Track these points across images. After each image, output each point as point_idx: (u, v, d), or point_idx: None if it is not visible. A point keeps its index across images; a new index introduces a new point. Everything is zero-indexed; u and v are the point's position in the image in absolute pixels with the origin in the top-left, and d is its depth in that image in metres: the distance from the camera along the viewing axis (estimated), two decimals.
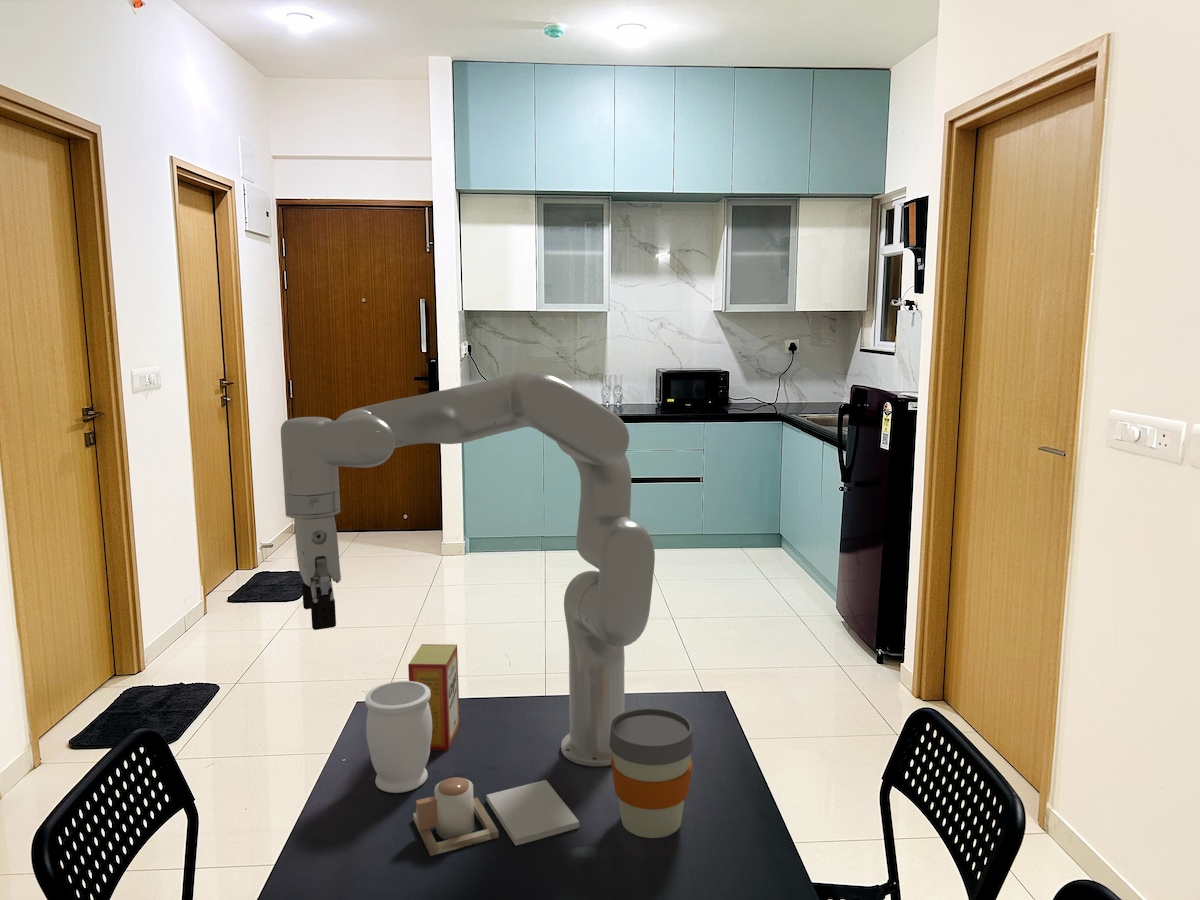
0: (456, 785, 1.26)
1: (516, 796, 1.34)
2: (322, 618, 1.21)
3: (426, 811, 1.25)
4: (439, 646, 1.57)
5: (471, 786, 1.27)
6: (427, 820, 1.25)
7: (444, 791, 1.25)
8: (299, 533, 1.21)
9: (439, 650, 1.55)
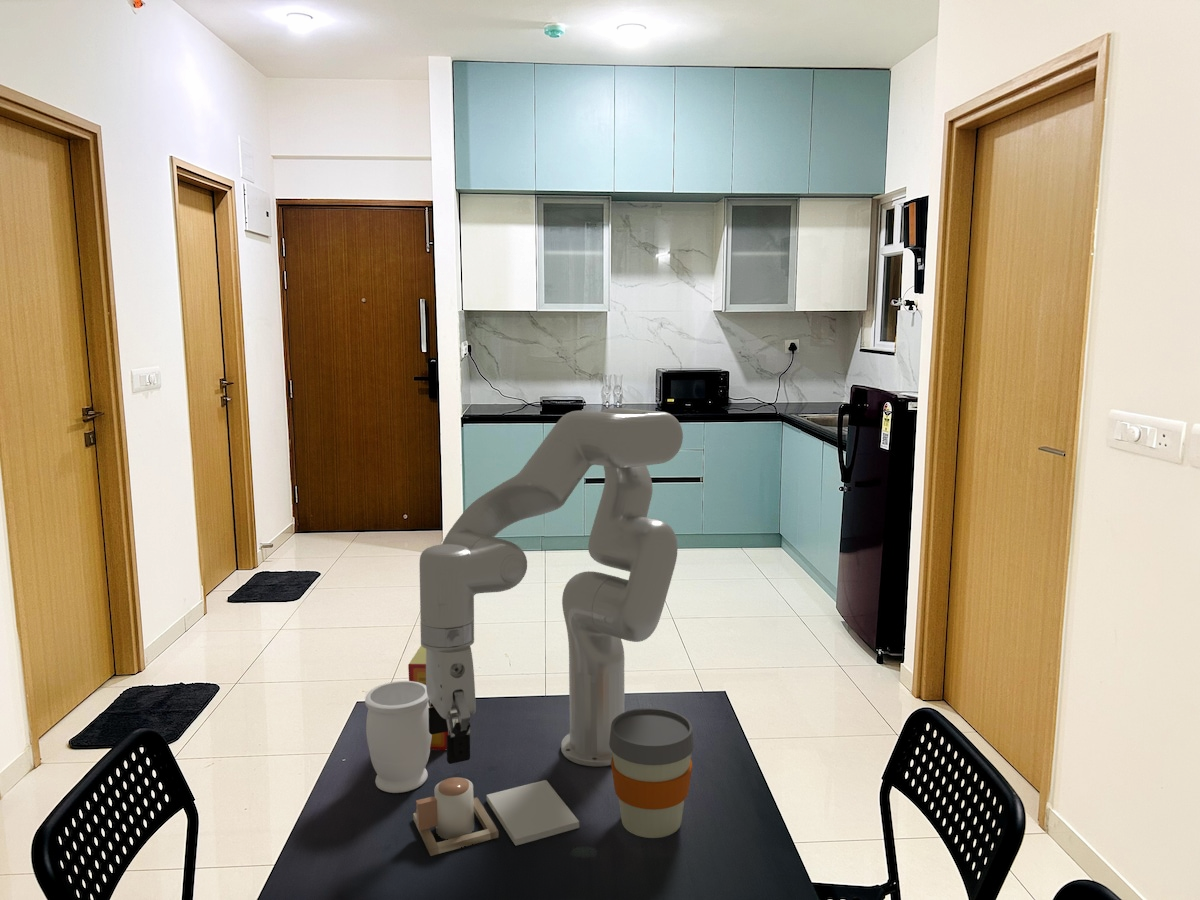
0: (456, 785, 1.26)
1: (516, 796, 1.34)
2: (458, 752, 1.20)
3: (426, 811, 1.25)
4: None
5: (471, 786, 1.27)
6: (427, 820, 1.25)
7: (444, 791, 1.25)
8: (436, 665, 1.20)
9: None
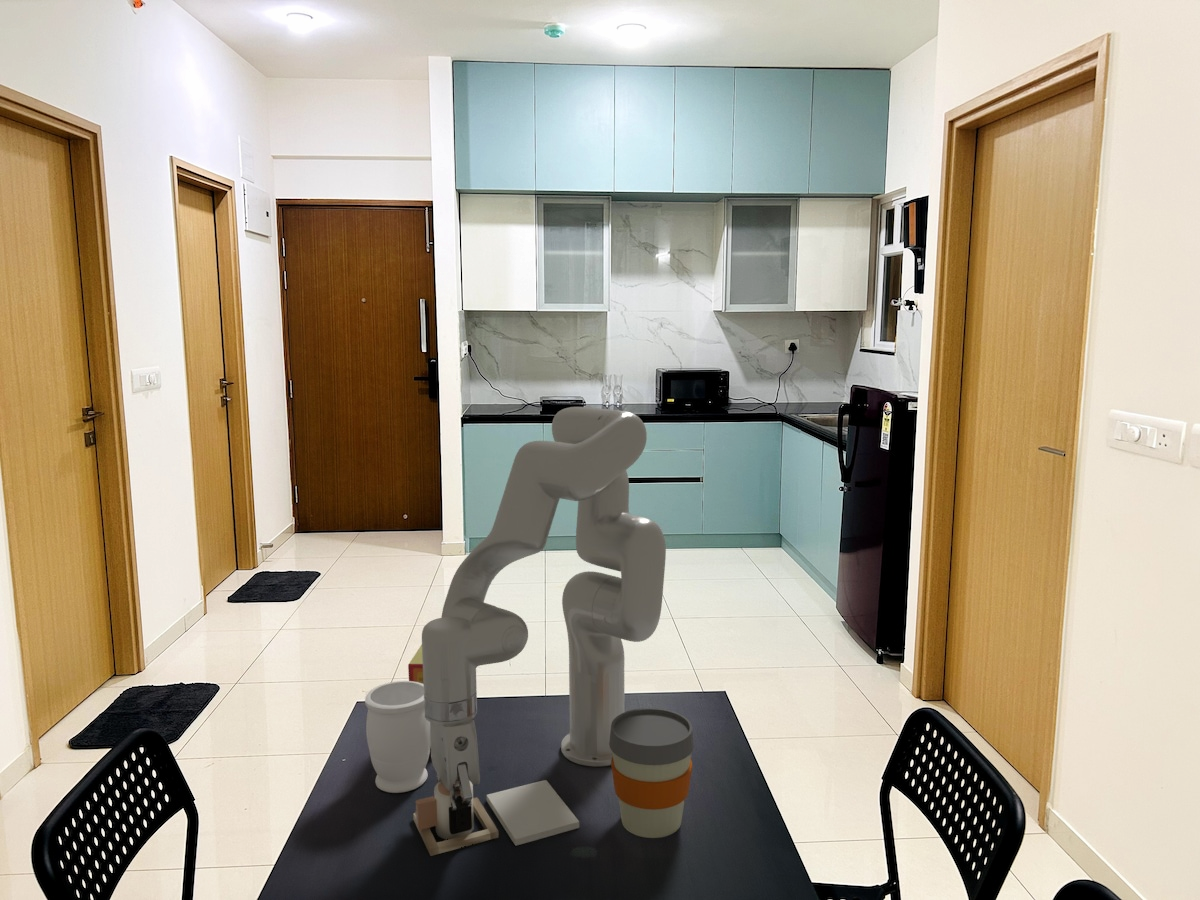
0: None
1: (516, 796, 1.34)
2: (460, 823, 1.23)
3: (426, 811, 1.25)
4: None
5: (471, 786, 1.27)
6: (427, 820, 1.25)
7: (444, 791, 1.25)
8: (440, 738, 1.22)
9: None
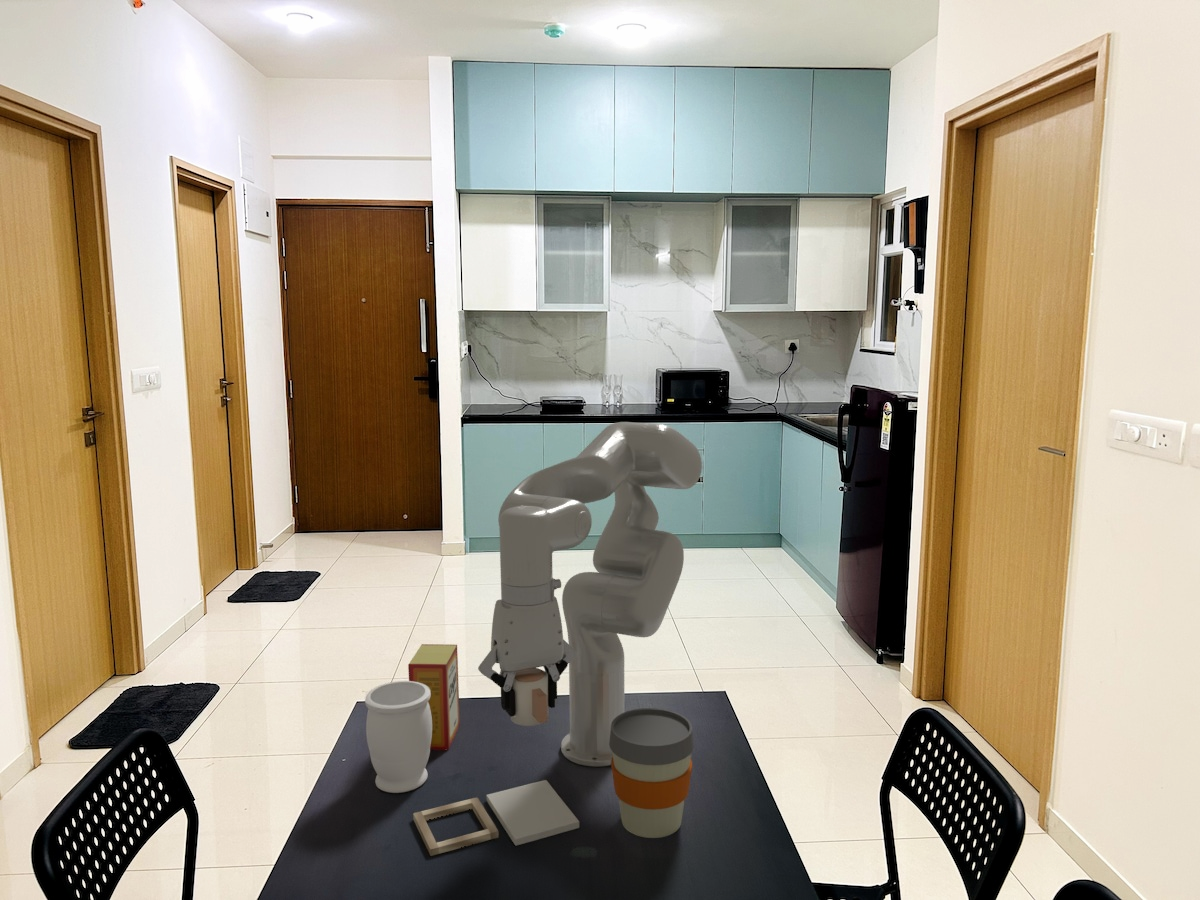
0: (529, 672, 1.28)
1: (516, 796, 1.34)
2: None
3: None
4: (439, 646, 1.57)
5: None
6: None
7: (539, 676, 1.27)
8: (550, 617, 1.25)
9: (439, 650, 1.55)
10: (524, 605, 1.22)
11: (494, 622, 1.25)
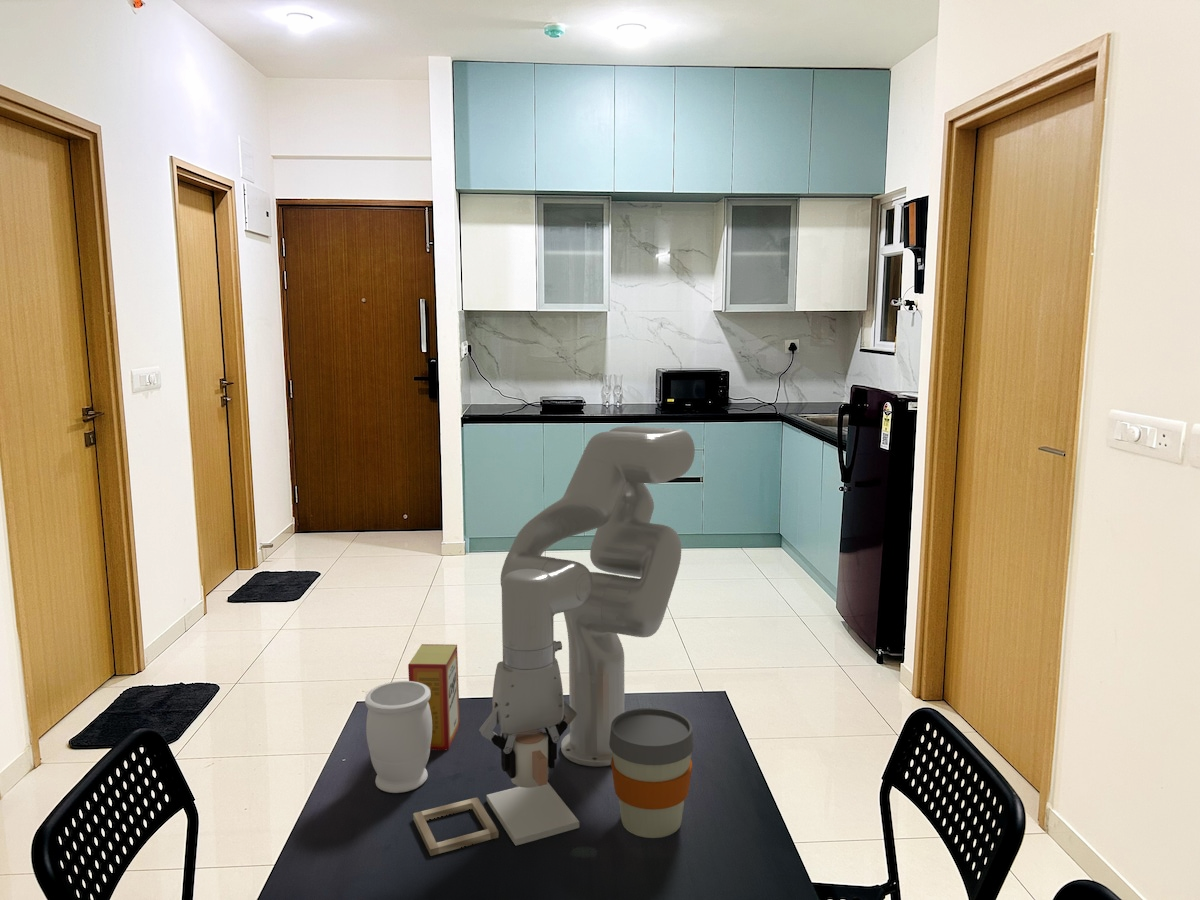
0: (530, 733, 1.29)
1: (516, 796, 1.34)
2: None
3: None
4: (439, 646, 1.57)
5: None
6: None
7: (540, 737, 1.28)
8: (550, 679, 1.27)
9: (439, 650, 1.55)
10: (525, 669, 1.24)
11: (495, 684, 1.26)
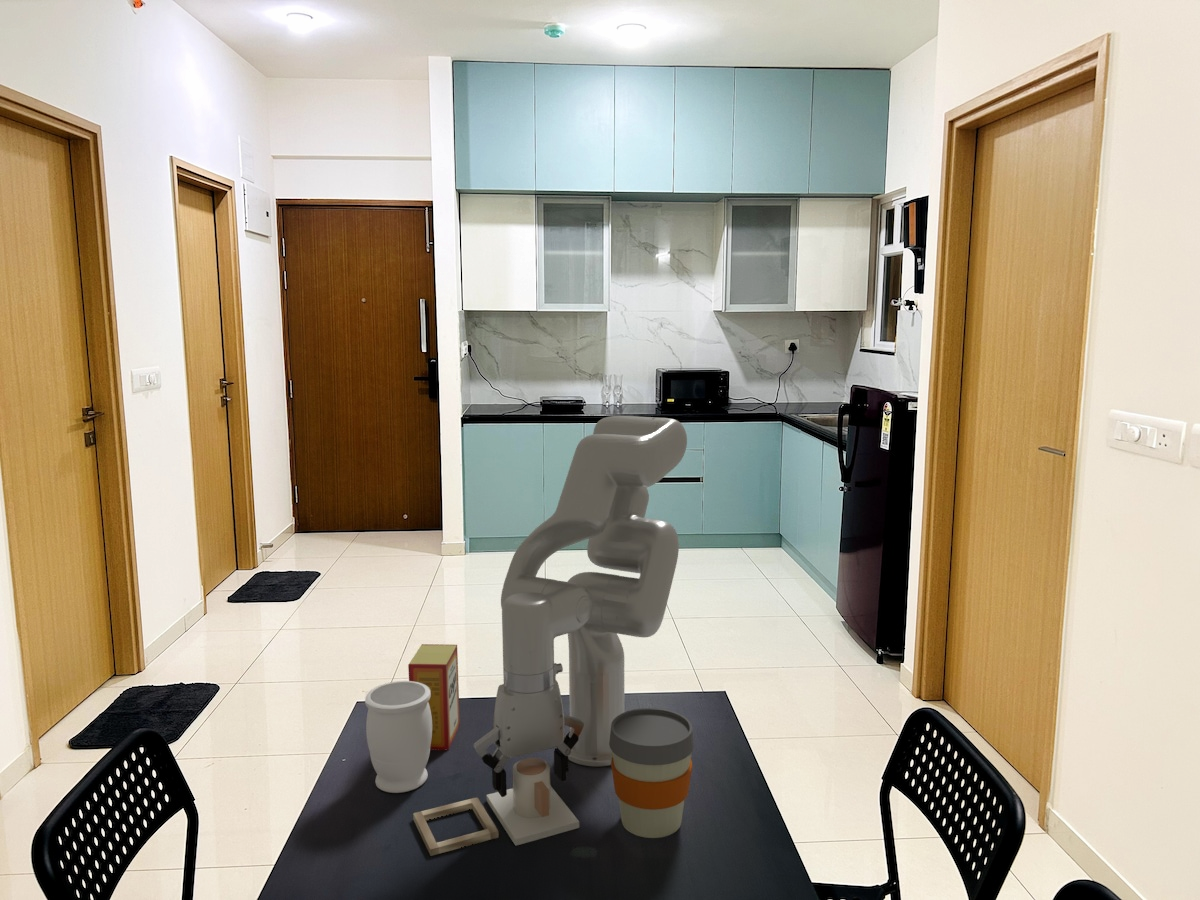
0: (532, 763, 1.30)
1: None
2: None
3: None
4: (439, 646, 1.57)
5: None
6: None
7: (542, 768, 1.29)
8: (551, 702, 1.27)
9: (439, 650, 1.55)
10: (526, 693, 1.24)
11: (496, 707, 1.27)
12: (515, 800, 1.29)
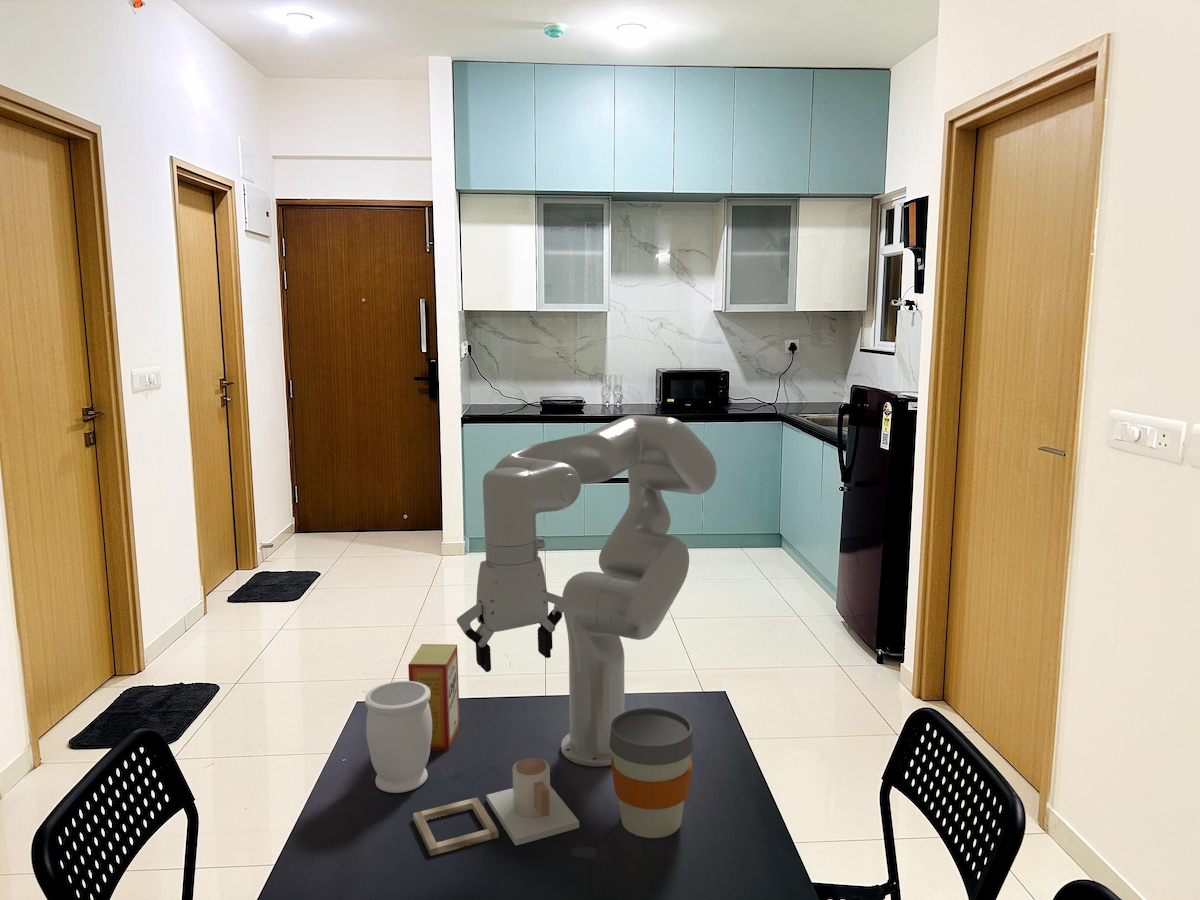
0: (531, 763, 1.30)
1: None
2: None
3: None
4: (439, 646, 1.57)
5: None
6: None
7: (541, 768, 1.29)
8: (534, 576, 1.27)
9: (439, 650, 1.55)
10: (509, 564, 1.24)
11: (479, 583, 1.26)
12: (515, 800, 1.29)
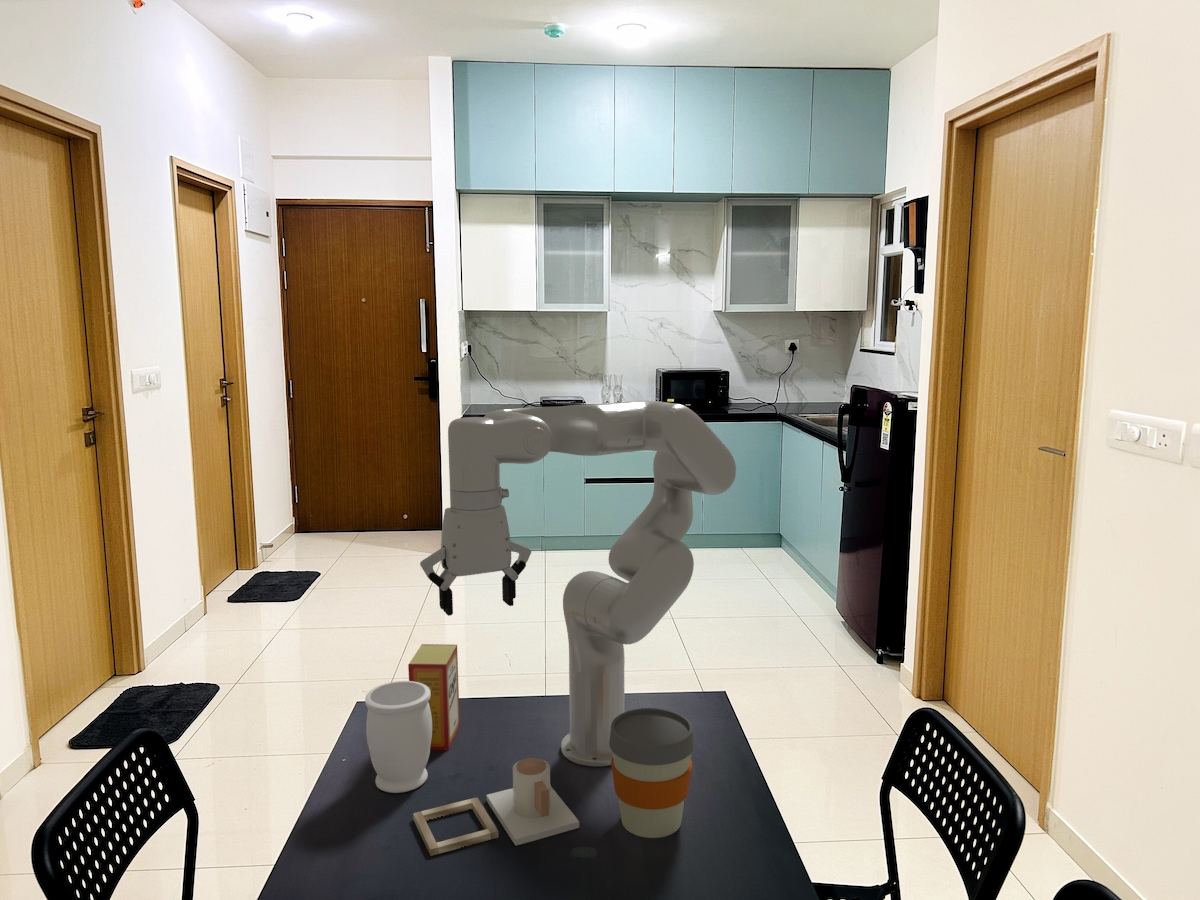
0: (532, 763, 1.30)
1: None
2: None
3: None
4: (439, 646, 1.57)
5: None
6: None
7: (542, 768, 1.29)
8: (497, 523, 1.30)
9: (439, 650, 1.55)
10: (471, 510, 1.27)
11: (443, 528, 1.30)
12: (515, 800, 1.29)
